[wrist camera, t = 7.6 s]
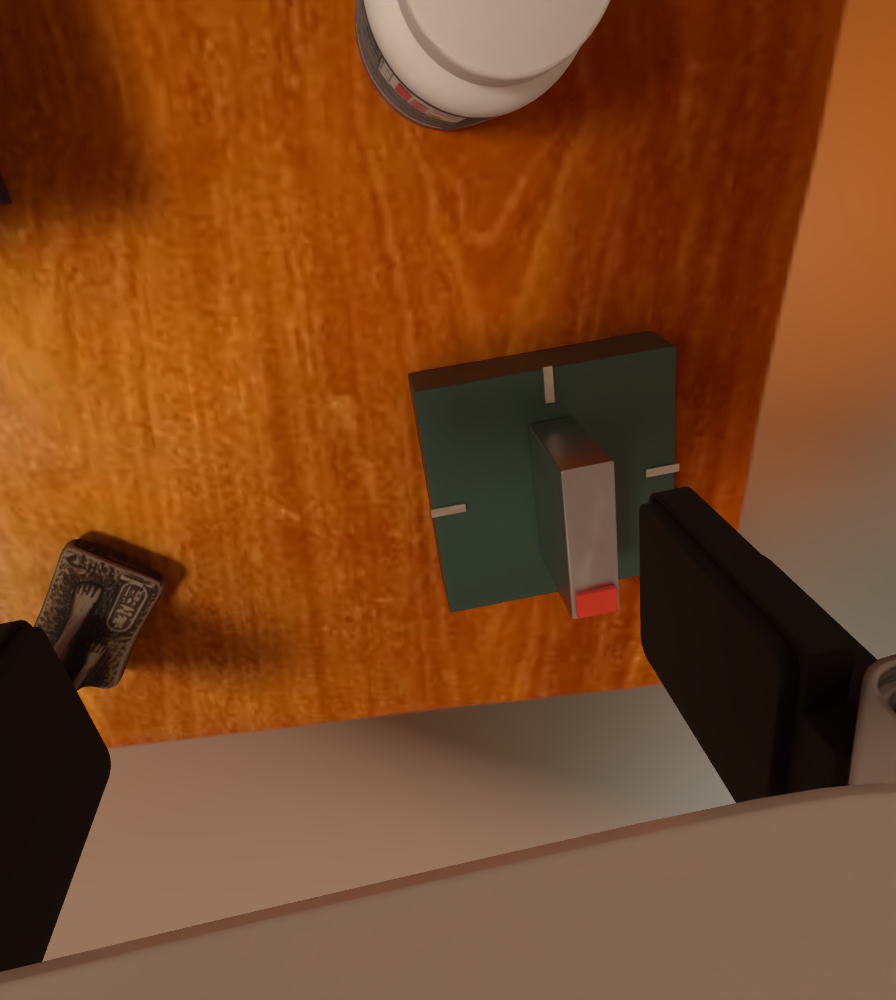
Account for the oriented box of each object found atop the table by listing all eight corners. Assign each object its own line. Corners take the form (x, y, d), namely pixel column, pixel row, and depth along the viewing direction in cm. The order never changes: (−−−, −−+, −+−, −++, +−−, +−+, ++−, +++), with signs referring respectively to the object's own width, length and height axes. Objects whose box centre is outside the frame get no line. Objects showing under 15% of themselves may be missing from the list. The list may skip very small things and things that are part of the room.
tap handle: (527, 423, 26) (563, 474, 22) (573, 415, 26) (617, 463, 22) (540, 556, 29) (574, 624, 25) (581, 548, 29) (622, 614, 25)
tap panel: (404, 371, 27) (410, 391, 25) (652, 327, 28) (681, 342, 25) (441, 583, 32) (448, 617, 29) (653, 542, 32) (677, 572, 30)
